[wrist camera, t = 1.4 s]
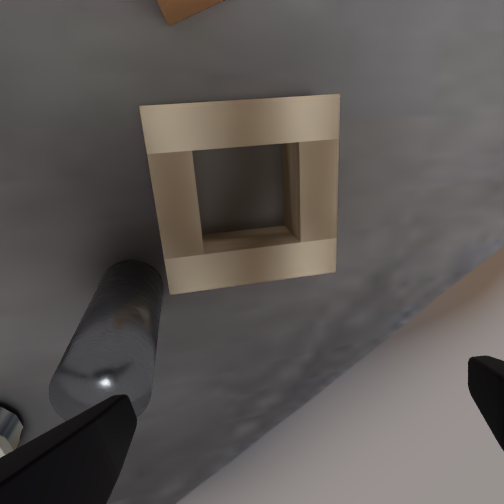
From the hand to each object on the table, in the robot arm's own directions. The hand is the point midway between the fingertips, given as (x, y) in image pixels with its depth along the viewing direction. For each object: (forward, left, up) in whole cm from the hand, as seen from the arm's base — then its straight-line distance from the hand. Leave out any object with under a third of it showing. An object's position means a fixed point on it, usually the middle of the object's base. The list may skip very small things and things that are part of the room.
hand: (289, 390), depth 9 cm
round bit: (-4, -6, -16) cm, 17 cm away
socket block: (0, +3, -15) cm, 16 cm away
